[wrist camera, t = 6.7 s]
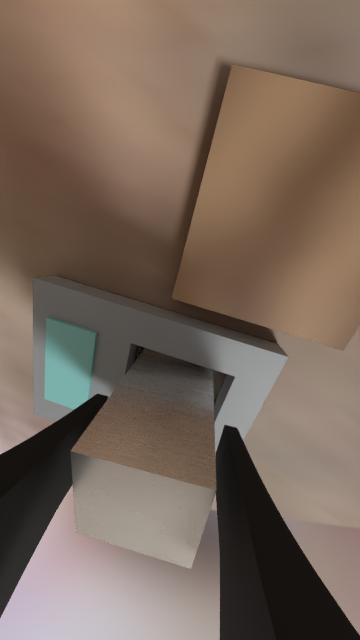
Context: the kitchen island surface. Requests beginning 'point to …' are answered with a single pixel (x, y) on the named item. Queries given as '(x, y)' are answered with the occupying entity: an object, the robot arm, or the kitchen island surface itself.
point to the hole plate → (121, 345)
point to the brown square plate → (280, 210)
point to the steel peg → (149, 461)
